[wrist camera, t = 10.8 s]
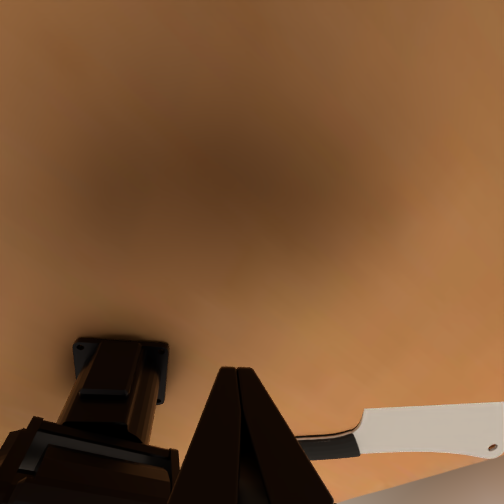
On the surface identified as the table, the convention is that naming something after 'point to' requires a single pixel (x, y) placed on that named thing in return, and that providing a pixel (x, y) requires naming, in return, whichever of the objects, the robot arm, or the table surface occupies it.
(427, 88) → the table surface
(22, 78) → the table surface
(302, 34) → the table surface
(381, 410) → the kitchen cleaver
